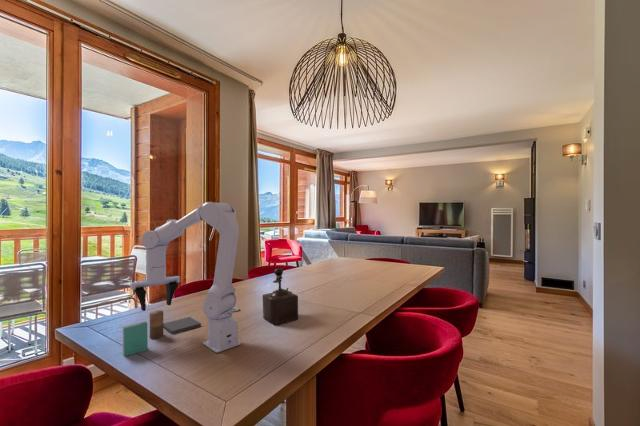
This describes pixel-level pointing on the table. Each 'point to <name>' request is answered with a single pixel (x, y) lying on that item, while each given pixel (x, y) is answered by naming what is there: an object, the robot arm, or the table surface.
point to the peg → (156, 324)
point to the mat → (181, 325)
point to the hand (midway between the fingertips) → (156, 307)
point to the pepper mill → (280, 304)
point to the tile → (135, 338)
